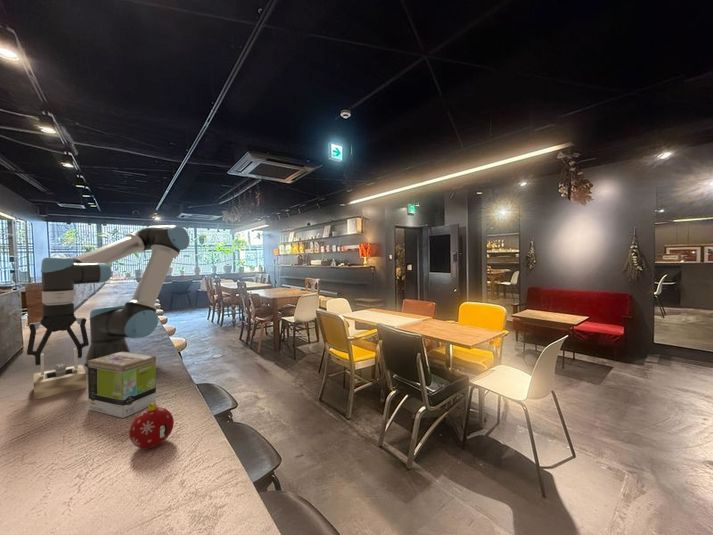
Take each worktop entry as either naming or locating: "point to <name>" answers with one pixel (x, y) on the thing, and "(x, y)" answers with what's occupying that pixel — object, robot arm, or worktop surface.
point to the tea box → (121, 383)
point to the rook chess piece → (60, 369)
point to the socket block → (59, 382)
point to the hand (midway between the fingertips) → (59, 370)
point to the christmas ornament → (151, 427)
